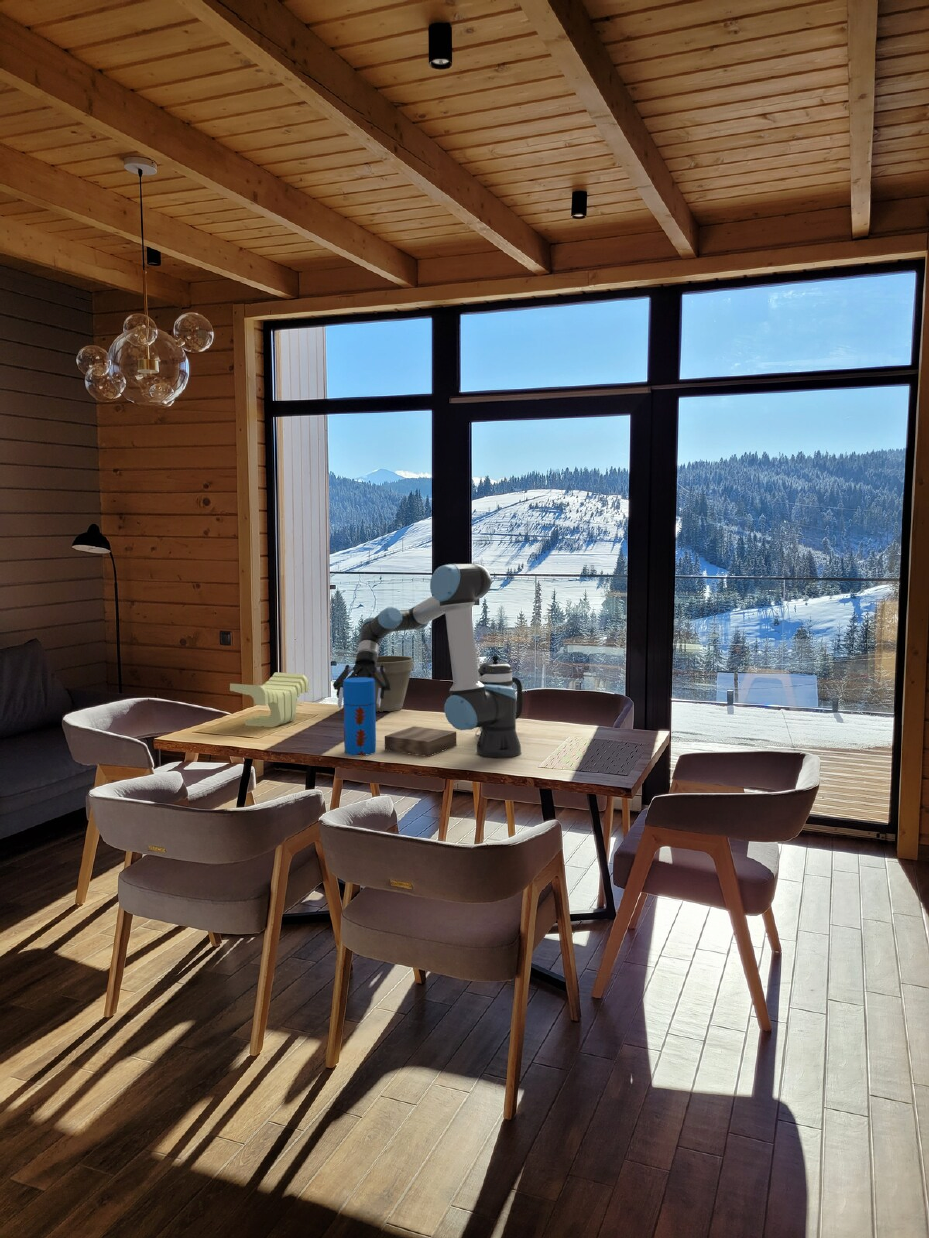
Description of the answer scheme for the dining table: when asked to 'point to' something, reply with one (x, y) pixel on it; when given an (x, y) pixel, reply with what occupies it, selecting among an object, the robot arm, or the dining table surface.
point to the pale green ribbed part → (275, 697)
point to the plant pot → (393, 681)
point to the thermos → (359, 716)
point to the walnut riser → (420, 741)
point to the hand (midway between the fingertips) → (358, 705)
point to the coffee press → (500, 679)
